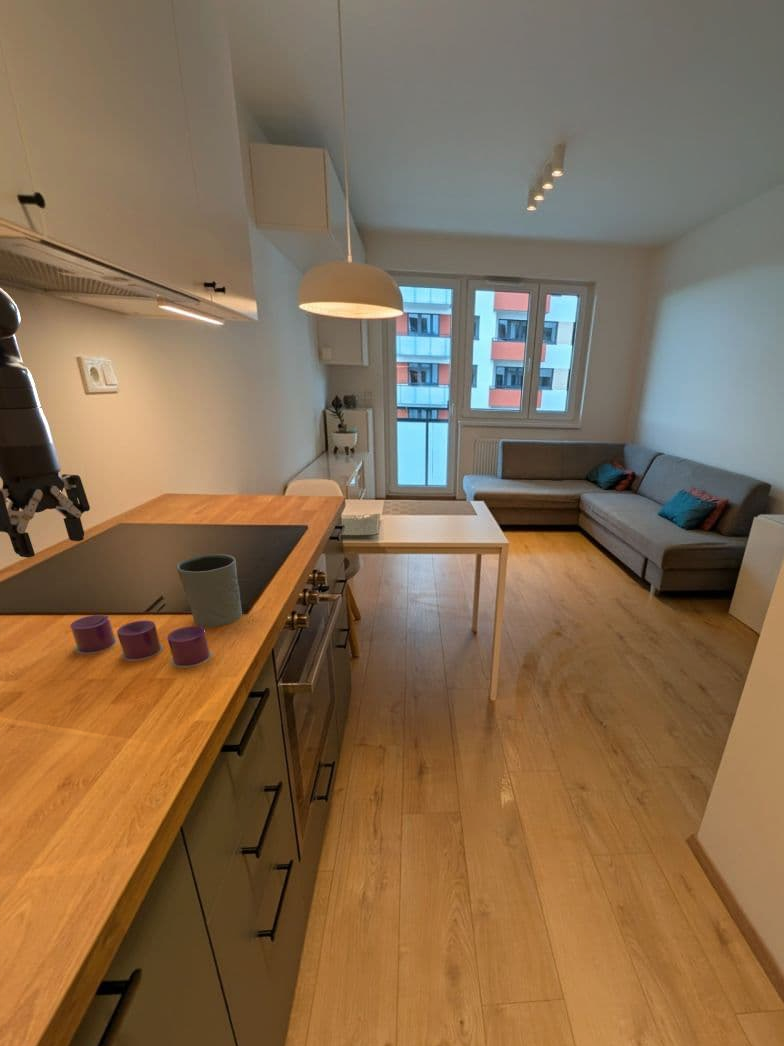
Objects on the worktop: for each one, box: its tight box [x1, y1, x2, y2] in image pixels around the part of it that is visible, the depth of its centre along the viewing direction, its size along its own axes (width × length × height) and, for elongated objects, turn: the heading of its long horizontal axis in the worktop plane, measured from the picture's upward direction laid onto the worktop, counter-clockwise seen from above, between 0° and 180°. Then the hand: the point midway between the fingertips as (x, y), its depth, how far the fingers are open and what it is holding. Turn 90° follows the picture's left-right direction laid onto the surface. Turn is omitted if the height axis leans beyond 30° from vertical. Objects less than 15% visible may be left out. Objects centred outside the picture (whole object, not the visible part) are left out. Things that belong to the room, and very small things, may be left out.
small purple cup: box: [116, 619, 161, 659], centre depth 86 cm, size 6×6×4 cm
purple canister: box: [166, 625, 210, 666], centre depth 84 cm, size 6×6×4 cm
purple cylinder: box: [69, 614, 116, 652], centre depth 88 cm, size 6×6×4 cm
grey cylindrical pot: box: [176, 553, 243, 628], centre depth 97 cm, size 10×10×12 cm
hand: (53, 548), depth 80 cm, fingers open, 8 cm apart
